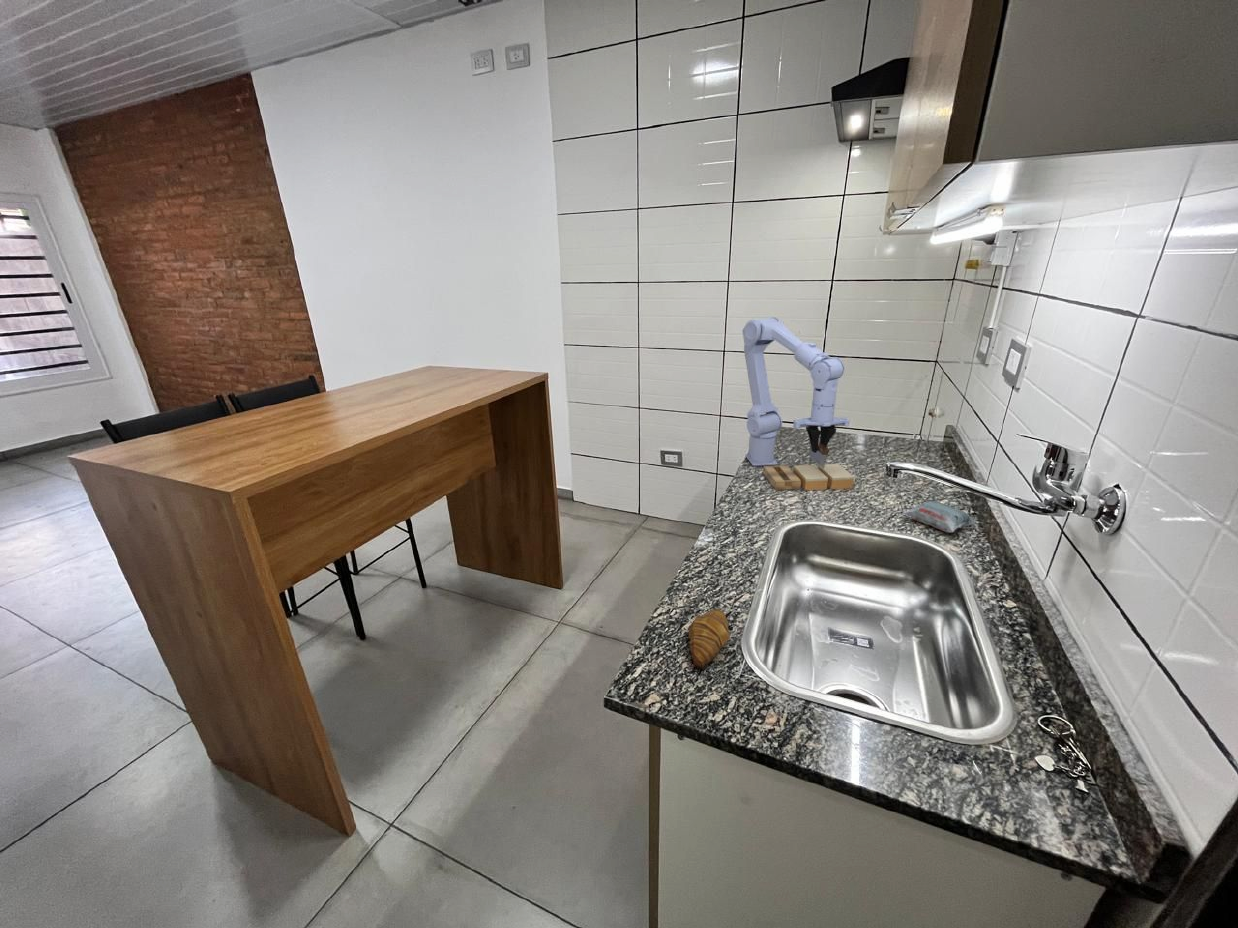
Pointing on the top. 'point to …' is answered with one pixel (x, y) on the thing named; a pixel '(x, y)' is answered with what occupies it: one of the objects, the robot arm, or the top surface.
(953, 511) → the packaged food
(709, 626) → the croissant
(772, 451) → the robot arm
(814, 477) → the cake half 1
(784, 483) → the knife block
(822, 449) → the knife
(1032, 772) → the top surface
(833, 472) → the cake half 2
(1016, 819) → the top surface
